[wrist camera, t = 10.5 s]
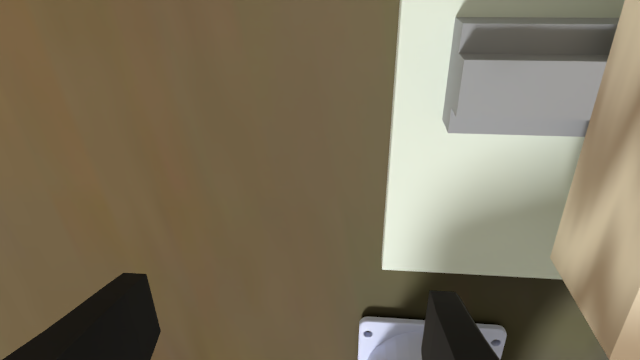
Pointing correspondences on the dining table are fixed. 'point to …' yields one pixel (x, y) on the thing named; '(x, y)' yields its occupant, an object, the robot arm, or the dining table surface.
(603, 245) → the beech rod
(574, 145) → the fulcrum stand
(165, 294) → the dining table surface
